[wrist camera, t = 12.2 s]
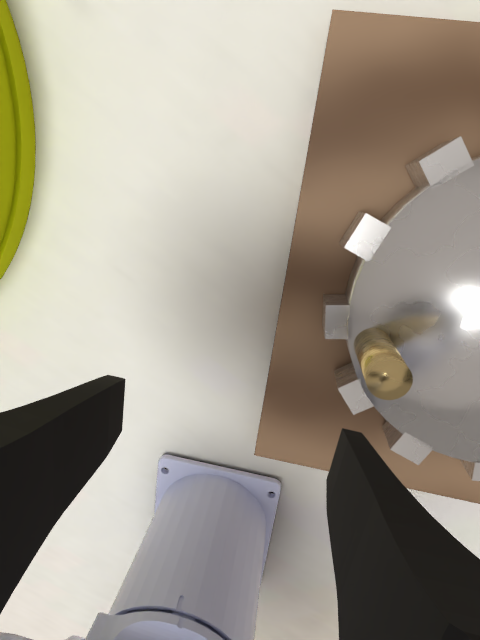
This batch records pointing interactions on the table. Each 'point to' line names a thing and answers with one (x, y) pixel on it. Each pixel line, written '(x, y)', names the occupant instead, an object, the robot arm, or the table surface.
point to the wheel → (417, 312)
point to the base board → (369, 197)
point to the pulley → (14, 140)
